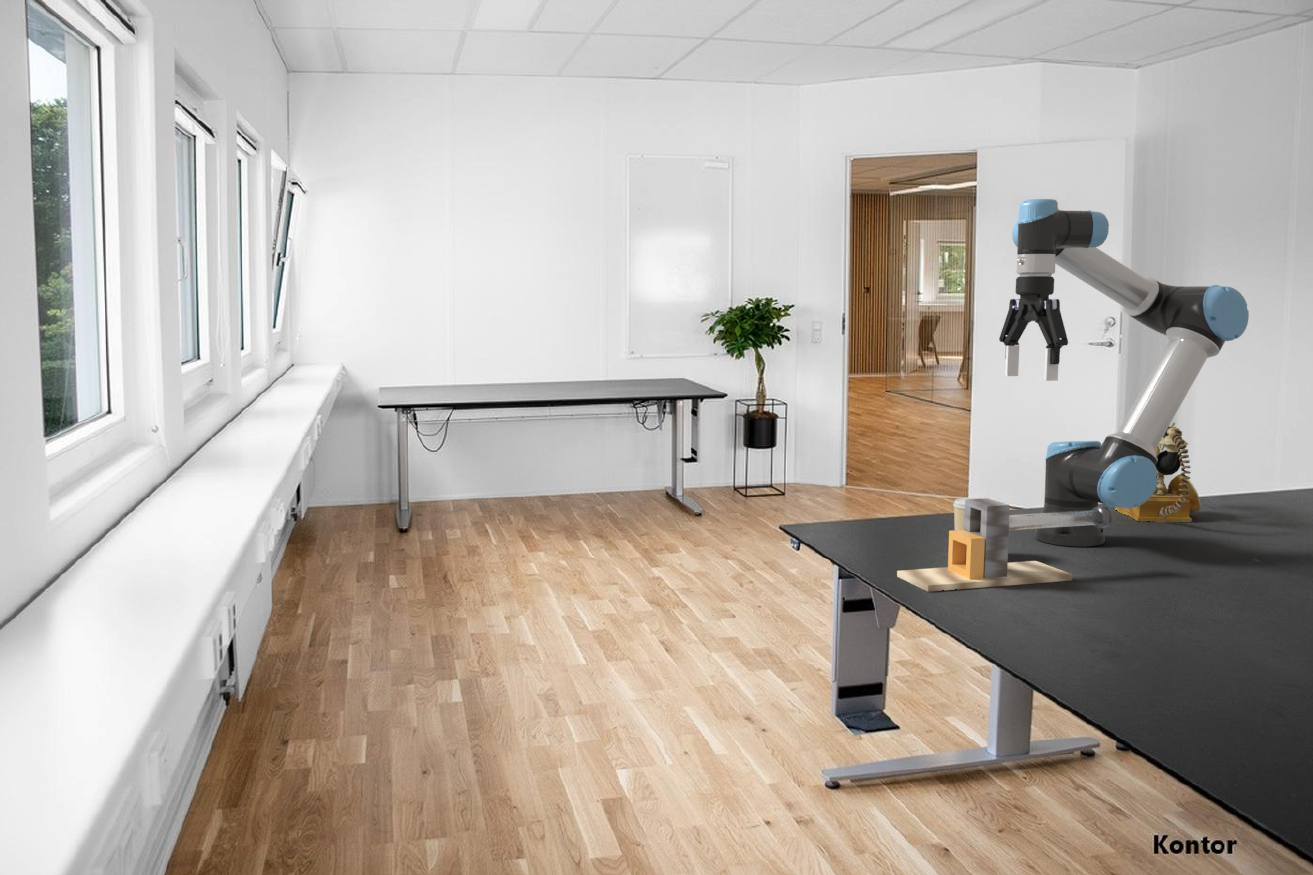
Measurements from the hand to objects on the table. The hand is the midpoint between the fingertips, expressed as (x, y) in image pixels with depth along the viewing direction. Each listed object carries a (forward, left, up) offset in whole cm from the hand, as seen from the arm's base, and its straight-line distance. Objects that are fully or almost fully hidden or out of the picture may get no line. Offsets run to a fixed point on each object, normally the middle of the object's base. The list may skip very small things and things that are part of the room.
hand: (1030, 378), depth 232 cm
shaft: (+3, +12, -30) cm, 32 cm away
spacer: (+21, +12, -38) cm, 45 cm away
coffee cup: (+8, -6, -39) cm, 40 cm away
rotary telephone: (-61, -28, -39) cm, 78 cm away
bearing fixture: (+17, +12, -39) cm, 44 cm away
